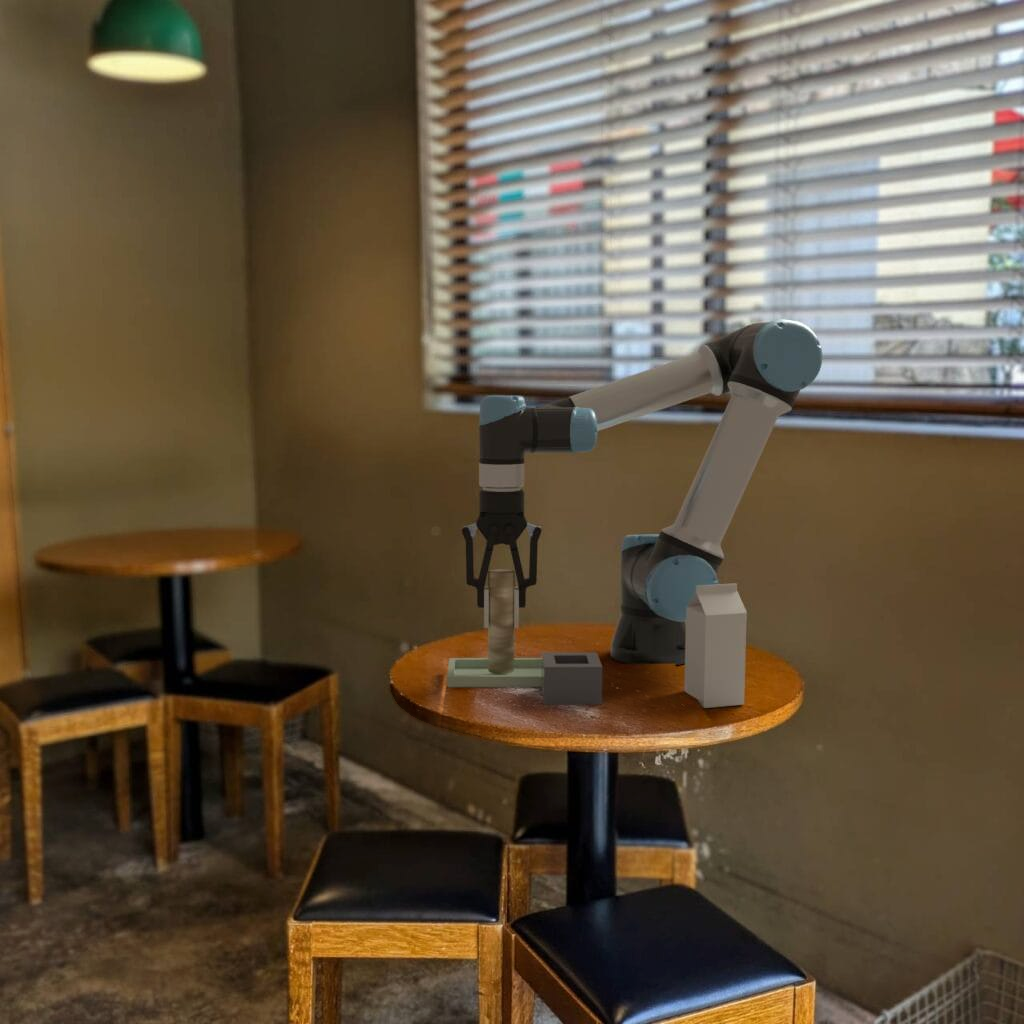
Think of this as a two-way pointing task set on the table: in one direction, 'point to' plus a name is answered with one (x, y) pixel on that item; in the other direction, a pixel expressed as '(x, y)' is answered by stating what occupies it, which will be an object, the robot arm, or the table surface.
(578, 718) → the table surface
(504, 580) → the dowel
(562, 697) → the square block with hole
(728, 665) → the milk carton
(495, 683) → the tray
